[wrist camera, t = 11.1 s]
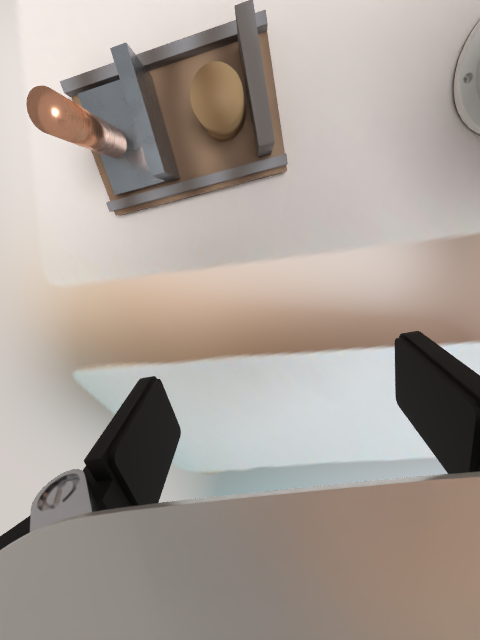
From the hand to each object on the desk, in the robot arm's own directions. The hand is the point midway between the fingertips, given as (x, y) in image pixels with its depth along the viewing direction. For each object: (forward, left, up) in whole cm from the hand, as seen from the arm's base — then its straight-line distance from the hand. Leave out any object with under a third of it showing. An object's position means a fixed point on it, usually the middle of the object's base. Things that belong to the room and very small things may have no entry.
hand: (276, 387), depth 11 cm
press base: (+5, -17, -28) cm, 33 cm away
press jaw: (+11, -17, -27) cm, 34 cm away
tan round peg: (+1, -17, -27) cm, 32 cm away
